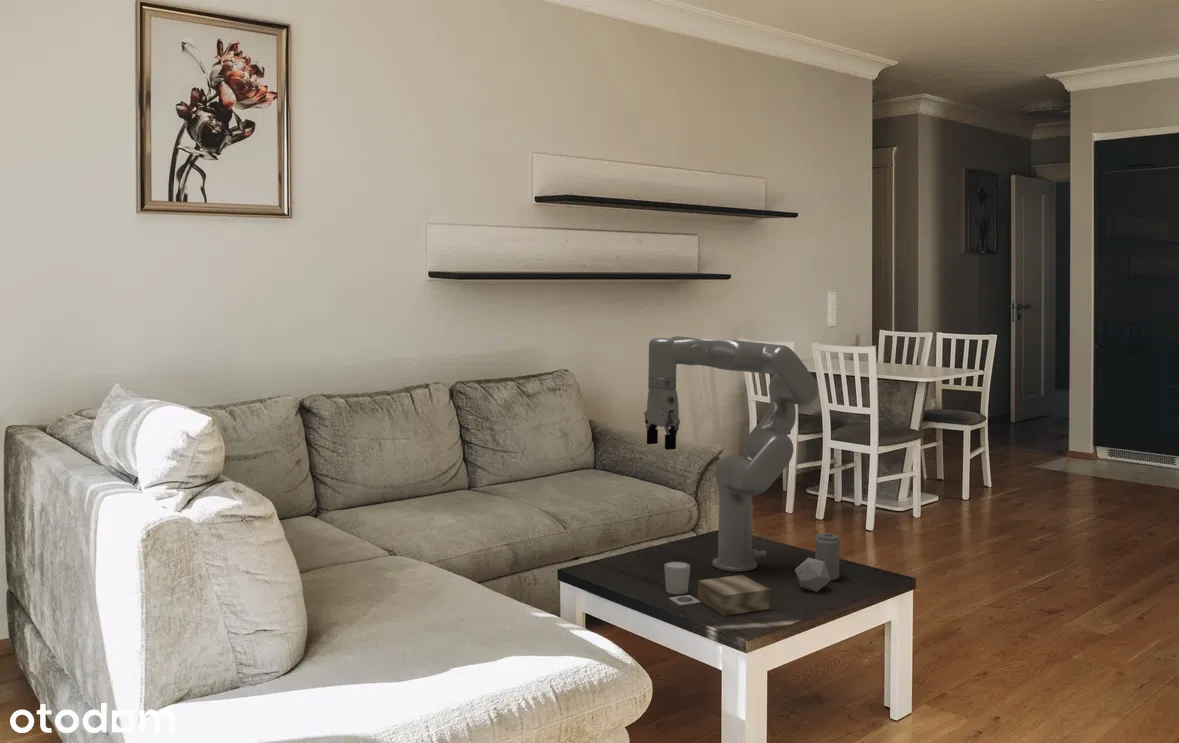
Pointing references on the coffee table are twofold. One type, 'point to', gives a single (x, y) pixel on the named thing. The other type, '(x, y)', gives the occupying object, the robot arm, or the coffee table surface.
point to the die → (812, 574)
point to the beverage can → (828, 553)
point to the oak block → (733, 595)
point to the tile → (684, 600)
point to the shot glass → (677, 577)
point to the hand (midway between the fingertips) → (661, 446)
